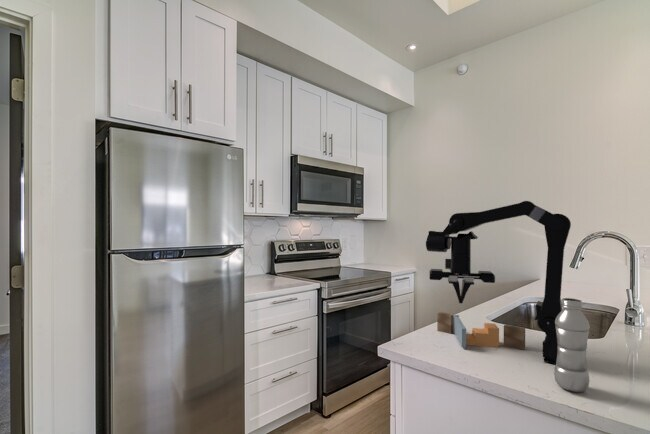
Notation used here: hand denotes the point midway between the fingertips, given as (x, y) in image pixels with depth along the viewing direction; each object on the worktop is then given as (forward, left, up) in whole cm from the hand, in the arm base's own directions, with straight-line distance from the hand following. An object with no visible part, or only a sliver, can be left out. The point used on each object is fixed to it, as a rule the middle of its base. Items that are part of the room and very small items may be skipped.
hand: (460, 303), depth 108 cm
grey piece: (0, 0, -12) cm, 12 cm away
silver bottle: (-30, +14, -12) cm, 35 cm away
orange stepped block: (-5, -2, -12) cm, 13 cm away
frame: (-3, -6, -12) cm, 14 cm away
